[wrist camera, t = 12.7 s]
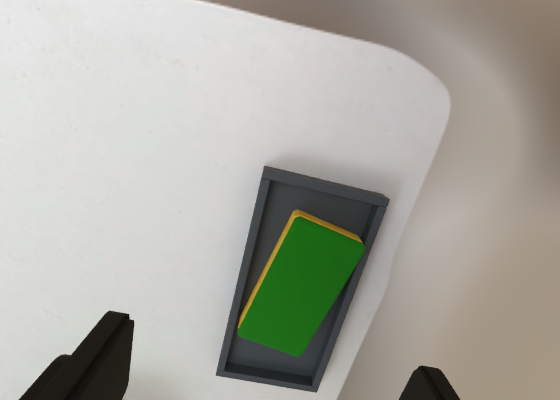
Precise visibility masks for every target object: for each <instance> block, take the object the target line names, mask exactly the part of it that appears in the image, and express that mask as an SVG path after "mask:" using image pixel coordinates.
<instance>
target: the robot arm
mask: <svg viewBox="0 0 560 400" xmlns="http://www.w3.org/2000/svg"><path fill="white" fill-rule="evenodd" d="M133 331H134V320H129V314H125V313H120V312H114V311H108V312H107V313H106V314H105V315H104V316H103V317H102V318H101V320H100V321H99V322H98V323H97V325H96V326H95V327H94V328H93V329H92V331H91V332H90V333H89V334H88V335H87V337H86V338H85V339H84V340H83V341H82V343H81V344H80V345H79V346H78V347H77V349H76V350H75V351H74V352H73V353H72V355H66V354H64V355H60V356H59V357H57V358H56V359H55V360H54V361H53V362H52V363H51V364H50V365H49V366H48V367H47V368H46V370H45V371H44V372H43V373H42V374H41V375H40V376H39V378H38V379H37V380H36V381H35V382H34V383H33V384H32V385H31V387H30V388H29V389H28V390H27V391H26V392H25V393H24V395H23V396H22V397H21V398H20V399H19V400H122V398H123V396H124V394H125V392H126V389H127V386H128V381H129V371H130V361H131V351H132V341H133ZM399 400H460V398H459V397H458V395H457V394H456V392H455V391H454V389H453V388H452V386H451V385H450V383H449V381H448V380H447V378H446V377H445V375H444V374H443V373H442V371H441V370H439V369H438V368H433V367H427V366H419V367H418V368H417V369H416V370H414V372H413V373H412V375H411V377H410V379H409V381H408V383H407V385H406V387H405V389H404V391H403V392H402V394H401V396H400V398H399Z"/></svg>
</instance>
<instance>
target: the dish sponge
mask: <svg viewBox="0 0 560 400" xmlns="http://www.w3.org/2000/svg"><path fill="white" fill-rule="evenodd" d="M365 250H366V248H365V245H364V244H363V243H362V241H361V240H360V238H359V237H358V235H356V234H353V233H351V232H349V231H347V230H344V229H342V228H340V227H337V226H335V225H333V224H331V223H328V222H326V221H324V220H321V219H319V218H317V217H315V216H312V215H310V214H308V213H305V212H303V211H301V210H299V209H298V210H295V211H293V213H292V215H291V217H290V219H289V221H288V223H287V225H286V227H285V229H284V231H283V233H282V235H281V236H280V238H279V240H278V242H277V244H276V246H275V248H274V250H273V252H272V254H271V256H270V258H269V260H268V262H267V264H266V266H265V268H264V270H263V272H262V274H261V276H260V278H259V280H258V282H257V284H256V286H255V288H254V290H253V292H252V294H251V296H250V298H249V300H248V302H247V304H246V306H245V308H244V310H243V312H242V314H241V316H240V319H239V325H238V331H237V333H238V335H239V337H242V338H245V339H248V340H251V341H253V342H256V343H259V344H262V345H265V346H268V347H270V348H273V349H276V350H279V351H282V352H285V353H288V354H290V355H293V356H296V357H298V356H302V354H303V352H304V351H305V349H306V347H307V346H308V344H309V343H310V341H311V339H312V338H313V336H314V334H315V333H316V331H317V329H318V328H319V326H320V324H321V323H322V321H323V319H324V318H325V316H326V315H327V313H328V311H329V310H330V308H331V306H332V305H333V303H334V301H335V300H336V298H337V296H338V295H339V293H340V291H341V290H342V288H343V287H344V285H345V283H346V282H347V280H348V278H349V277H350V275H351V273H352V272H353V270H354V268H355V267H356V265H357V263H358V262H359V260H360V259H361V257H362V255H363V254H364V252H365Z"/></svg>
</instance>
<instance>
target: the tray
mask: <svg viewBox="0 0 560 400" xmlns="http://www.w3.org/2000/svg"><path fill="white" fill-rule="evenodd" d="M388 203H389V199H388V198H387V197H385V196H384V195H383V194H380V193H375V192H371V191H367V190H363V189H359V188H355V187H351V186H346V185H342V184H338V183H334V182H330V181H326V180H322V179H318V178H313V177H309V176H305V175H301V174H297V173H293V172H289V171H285V170H280V169H276V168H272V167H268V166H264V170H263V174H262V179H261V183H260V187H259V191H258V196H257V200H256V204H255V209H254V213H253V217H252V221H251V226H250V230H249V234H248V239H247V243H246V247H245V251H244V256H243V260H242V264H241V269H240V273H239V277H238V281H237V286H236V290H235V294H234V299H233V303H232V307H231V311H230V316H229V320H228V324H227V329H226V333H225V337H224V341H223V346H222V350H221V354H220V359H219V363H218V367H217V372H216V376H222V377H228V378H234V379H240V380H245V381H251V382H257V383H263V384H269V385H275V386H281V387H287V388H293V389H299V390H304V391H310V392H317V390H318V388H319V385H320V382H321V380H322V377H323V375H324V372H325V369H326V367H327V364H328V361H329V359H330V356H331V353H332V351H333V348H334V346H335V343H336V340H337V338H338V335H339V332H340V330H341V327H342V324H343V322H344V319H345V317H346V314H347V311H348V309H349V306H350V303H351V301H352V298H353V295H354V293H355V290H356V287H357V285H358V282H359V280H360V277H361V274H362V272H363V269H364V266H365V264H366V261H367V258H368V256H369V253H370V251H371V248H372V245H373V243H374V240H375V237H376V235H377V232H378V229H379V227H380V224H381V222H382V219H383V216H384V214H385V211H386V207H387V205H388ZM298 209H299V210H301V211H303V212H305V213H308V214H310V215H312V216H315V217H317V218H319V219H321V220H324V221H326V222H328V223H331V224H333V225H335V226H337V227H340V228H342V229H344V230H347V231H349V232H351V233H353V234H356V235H358V237H359V238H360V240H361V241H362V243H363V244H364V245H365V248H366V250H365V252H364V254H363V255H362V257H361V259H360V260H359V262H358V263H357V265H356V267H355V268H354V270H353V272H352V273H351V275H350V277H349V278H348V280H347V282H346V283H345V285H344V287H343V288H342V290H341V291H340V293H339V295H338V296H337V298H336V300H335V301H334V303H333V305H332V306H331V308H330V310H329V311H328V313H327V315H326V316H325V318H324V319H323V321H322V323H321V324H320V326H319V328H318V329H317V331H316V333H315V334H314V336H313V338H312V339H311V341H310V343H309V344H308V346H307V347H306V349H305V351H304V352H303V354H302V356H298V357H296V356H293V355H290V354H288V353H285V352H282V351H279V350H276V349H273V348H270V347H268V346H265V345H262V344H259V343H256V342H253V341H251V340H248V339H245V338H242V337H239V335H238V333H237V331H238V325H239V319H240V316H241V314H242V312H243V310H244V308H245V306H246V304H247V302H248V300H249V298H250V296H251V294H252V292H253V290H254V288H255V286H256V284H257V282H258V280H259V278H260V276H261V274H262V272H263V270H264V268H265V266H266V264H267V262H268V260H269V258H270V256H271V254H272V252H273V250H274V248H275V246H276V244H277V242H278V240H279V238H280V236H281V235H282V233H283V231H284V229H285V227H286V225H287V223H288V221H289V219H290V217H291V215H292V213H293V211H295V210H298Z"/></svg>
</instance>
